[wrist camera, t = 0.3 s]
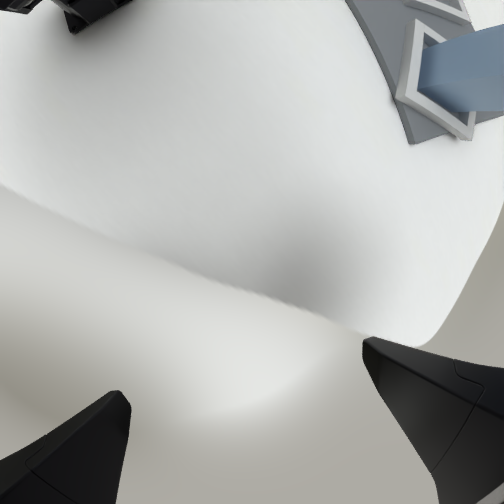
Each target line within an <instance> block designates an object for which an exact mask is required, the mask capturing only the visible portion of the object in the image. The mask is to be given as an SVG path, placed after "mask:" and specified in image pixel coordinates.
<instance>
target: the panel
mask: <svg viewBox="0 0 504 504" xmlns="http://www.w3.org/2000/svg"><path fill="white" fill-rule="evenodd" d="M345 1H346V2H347V4H348V6H349V7H350V9H351V11H352V12H353V14H354V16H355V17H356V19H357V21H358V23H359V25H360V26H361V28H362V30H363V32H364V34H365V36H366V38H367V40H368V42H369V43H370V45H371V47H372V50H373V52H374V54H375V56H376V58H377V60H378V62H379V64H380V67H381V69H382V71H383V73H384V76H385V78H386V80H387V83H388V85H389V88H390V90H391V93H392V95H393V98H394V101H395V103H396V106H397V109H398V111H399V114H400V117H401V120H402V123H403V126H404V129H405V132H406V135H407V139H408V142H409V144H418V143H421V142H424V141H426V140H429V139H432V138H435V137H438V136H441V135H444V134H447V133H450V132H451V133H452V134H453V135H455V136H456V137H458V138H459V139H460V140H465V141H472V138H473V132H474V125H475V124H477V123H480V122H484V121H487V120H490V119H493V118H497V117H500V116H503V115H504V111H470V112H450V111H449V110H448V109H446V108H445V107H443V106H442V105H441V104H439V103H438V102H436V101H435V100H433V99H432V98H430V97H429V96H427V95H426V94H424V93H422V92H421V91H419V90H418V89H417V86H418V80H419V73H420V65H421V57H422V50H423V49H425V48H428V47H431V46H433V45H436V44H439V43H442V42H444V41H447V40H450V39H453V38H456V37H459V36H462V35H466V34H469V33H472V32H475V30H474V28H473V26H472V24H471V23H472V22H471V20H470V17H469V14H468V12H467V9H466V6H465V4H464V2H463V0H345Z"/></svg>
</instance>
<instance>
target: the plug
mask: <svg viewBox="0 0 504 504" xmlns="http://www.w3.org/2000/svg"><path fill="white" fill-rule="evenodd" d="M417 89H418V90H419V91H421V92H422V93H424V94H426V95H427V96H429V97H430V98H432V99H433V100H435V101H436V102H438V103H439V104H441V105H442V106H443V107H445V108H446V109H448V110H449V111H450V112H470V111H504V24H502V25H498V26H494V27H490V28H486V29H483V30H479V31H476V32H472V33H469V34H466V35H462V36H459V37H456V38H453V39H450V40H447V41H444V42H442V43H439V44H436V45H433V46H431V47H428V48H425V49H423V50H422V57H421V65H420V73H419V80H418V86H417Z"/></svg>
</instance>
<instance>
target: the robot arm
mask: <svg viewBox="0 0 504 504" xmlns="http://www.w3.org/2000/svg"><path fill="white" fill-rule="evenodd" d="M41 1H42V0H0V10H2V11H9V12H16V13H21V14H28V13H29V12H31V11H32V10H33V8H34V7H35V6H36V5H37V4H38V3H40V2H41ZM51 1H53V2H54V3H55V4H57V5H58V6H59V7H61V8H62V9H63V10H64V14H65V17H66V21H67V24H68V28H69V31H70V33H72V34H76V33H78V32H79V31H81V30H82V29H84V28H85V27H87V26H88V25H90V24H92V23H93V22H95V21H96V20H98V19H100V18H101V17H103V16H105V15H106V14H108V13H110V12H111V11H113V10H115V9H117V8H119V7H120V6H122V5H124V4H126V3H128V2H130V1H132V0H51ZM76 27H77V28H76ZM75 28H76V29H75ZM74 29H75V30H74ZM362 357H363V362H364V364H365V366H366V368H367V370H368V372H369V375H370V376H371V378H372V381H373V383H374V385H375V387H376V389H377V391H378V393H379V394H380V396H381V397H382V399H383V400H384V402H385V403H386V405H387V406H388V408H389V409H390V411H391V412H392V414H393V416H394V417H395V419H396V420H397V422H398V423H399V425H400V426H401V428H402V429H403V431H404V432H405V434H406V436H407V437H408V439H409V440H410V442H411V443H412V445H413V447H414V448H415V450H416V451H417V453H418V454H419V456H420V458H421V459H422V460H423V462H424V464H425V466H426V467H427V469H428V470H429V472H430V473H431V475H432V477H433V479H434V481H435V484H436V488H437V493H438V499H439V504H504V368H500V367H492V366H485V365H479V364H474V363H470V362H465V361H461V360H457V359H454V360H453V359H451V358H448V357H444V356H440V355H437V354H433V353H429V352H426V351H422V350H418V349H415V348H411V347H408V346H405V345H401V344H398V343H394V342H391V341H387V340H384V339H381V338H377V337H370V338H367V339H364V340H363V347H362ZM130 419H131V405H130V403H129V402H128V400H127V399H126V398H125V396H124V395H123V394H122V392H121V391H119V390H115V391H110V392H108V393H107V394H105V395H104V396H103V397H101V398H100V399H98V400H97V401H95V402H94V403H92V404H91V405H89V406H88V407H86V408H85V409H84V410H82V411H81V412H79V413H78V414H76V415H75V416H73V417H72V418H70V419H69V420H67V421H66V422H64V423H63V424H61V425H60V426H58V427H57V428H55V429H54V430H52V431H51V432H49V433H48V434H47V435H44V436H43V437H41V438H39V439H38V440H36V441H35V442H33V443H31V444H30V445H28V446H26V447H24V448H23V449H21V450H19V451H17V452H15V453H13V454H11V455H9V456H7V457H5V458H4V459H2V460H0V504H116V499H117V493H118V487H119V481H120V476H121V471H122V466H123V461H124V456H125V451H126V447H127V443H128V437H129V428H130Z"/></svg>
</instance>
